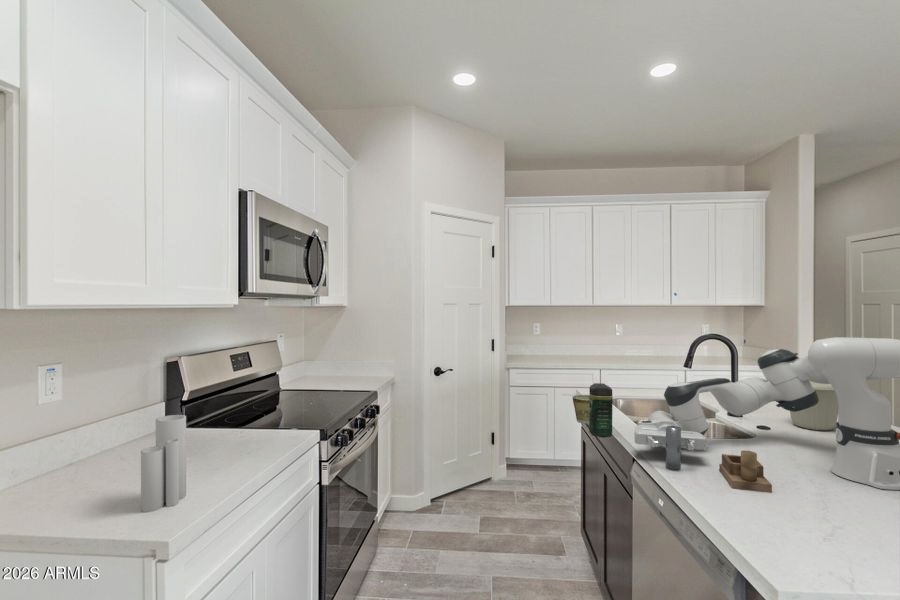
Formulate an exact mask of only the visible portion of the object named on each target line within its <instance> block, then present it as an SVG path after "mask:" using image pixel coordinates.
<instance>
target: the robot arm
mask: <svg viewBox="0 0 900 600" xmlns="http://www.w3.org/2000/svg"><path fill="white" fill-rule="evenodd" d="M798 355H799V353H797V352H792V351H790V350H789V349H788V350H787V349H783V348H781V349H776V348H775V349H770V350H767V351H765V352H764V353H763V354H761V355H760V357H758V359H757V365H758V367H759V370H761V372H762V374H763V376H764V378H765V379H764V378H762V377H759V376H758V377H756V376H755V377H748V378H744V379H740V380H737V381H735V382H733V381H731V380H730V379H729V378H727V377H725V378H724V377H718V378H717V377H715V378H708V379H702V380H696V381H695V380H694V381H688V382H675V383H672V384H670V385H668V386H667V388H666V389H665V391H664V394H663V396H664V397H663V398H664V399H665V402H666V404H667V406H668V409H669V411H670V413H668V412H667V411H663V410H655V411H653V412H652V413H650V415H649V417H648V418H647V420H640V421H637V425H636V426H635V427H634V443H635V444H636V445H646V446H652V448H658V447H661V448H664V449H666V426H677V427H680V428H681V449H686V450H687V451H694V450H701V451H703V450H706V449H707V446H708V442H707V439H708V438H706V436H705V434H706V433H707V432H708V429H709V426H708V425H709V424H708V421H707V419H706V415H705V413H704V410H703V407H702V404H701V401H700V397H699V396H700V394H703V393H708V392H709V393H710V394H711V395H712V396H713V397H714V398H715V400H716V401H717V403H718V404H719V406H720V407H721V408H722V409H723V410H725V411H726V412H728V413H730V414H732V415H734V416H745V415H748V414H752V413H754V412H755V411H758V410H760V409H761V408H762V407H764V406H765V405H767V404H770V403H772V402H773V403H774V402H776V403H777V404H775V406H776V407H777V408H783V409H784V410H786V411H789V412H790V411H792V412H803V411H807V410H810V409H811V408H813V407H814V406H815V405H816V404H818V402H819V398H818V395H817V393H816V391H814V389H813V387H812V385H811V383H810V381H812V382H815V383H820V384H831V385H832V386H833V388H834V390H835V393H836V396H837V403H838V417H837V423H836V426H835V439H836V440H835V441H836V449H835V450H836V451H835V455H834V459H833V463H832V466H831V467H830V471H831V472H832V473H833V474H834V475H836V476H839V477H841V478H843V479H846V480H850V481H853V482H855V483H861V484H864V485H868V486H871V487H874V488H877V489H881V490H891V491H893V490H894V491H900V432H898V431H896V430H894V429H892V405H891V402H890V400H889V399H888V398H887V397H886V396H885V395H883V394H881V393H880V392H877V391H876V390H873V389H872V388H870V387H869V385H868V382H867V381H875V380H877V381H878V380H887V379H888V380H889V379H890V380H891V379H899V378H900V339H896V338H890V337H889V338H888V337H887V338H886V337H885V338H884V337H879V338H878V337H877V338H876V337H840V336H839V337H837V336H834V337H828V338H827V337H826V338H821V339H816V340H815V341H813V343H811V345H810V347H809V349H808V351H807V355H806V356H804V357H802V358H800V357H798ZM809 380H810V381H809Z"/></svg>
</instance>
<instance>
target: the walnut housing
mask: <svg viewBox="0 0 900 600" xmlns="http://www.w3.org/2000/svg"><path fill="white" fill-rule="evenodd" d="M718 467H719V469H718V470H719V472H720V473H721V474H722V476H723V477H724V479H725V481H726V482H727V483H728V484H729V486H730V487H731V488H732V489H739V490H746V491H756V492H762V493H764V492H765V493H773V484H772V483H771V482H770V481H769V480H768V479H767V478H766V477H765V476H764V469H765V468H764V466H763V464H762V463H760V462H759V460H758V454H757V452H755V451H751V450H740V455H738V454H737V455H735V454H725V453H722V454H721V463H719V466H718Z"/></svg>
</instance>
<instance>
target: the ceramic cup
mask: <svg viewBox="0 0 900 600" xmlns="http://www.w3.org/2000/svg"><path fill="white" fill-rule="evenodd" d="M572 402H573V403H572V404H573V407H574V412H575V418H576V419H575V420H576V422H577V423H580V424H585V425H586V424H587V425H589V406H590V397H589V394H574V395H573V396H572Z"/></svg>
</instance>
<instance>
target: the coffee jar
mask: <svg viewBox="0 0 900 600" xmlns="http://www.w3.org/2000/svg"><path fill="white" fill-rule="evenodd" d="M588 395H589V397H590V406H589V424H588V426H589V427H588V429H589V433H590V435H591V436H593V437H598V438H603V439H604V438H611V437H612V436H613V389H612V387H610V386H608V384H607V385H606V384H605V383H602V382H601V383H599V382H597V383H596V382H594V383H593V384H591V385H590V386H589V393H588Z"/></svg>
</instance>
